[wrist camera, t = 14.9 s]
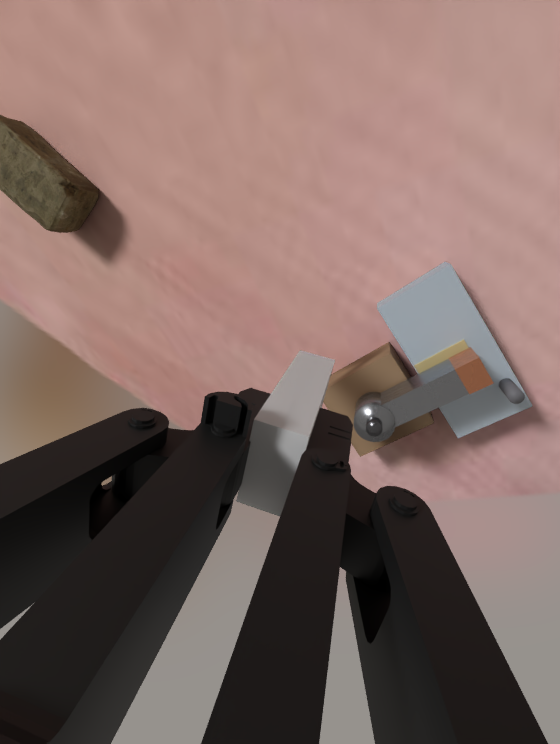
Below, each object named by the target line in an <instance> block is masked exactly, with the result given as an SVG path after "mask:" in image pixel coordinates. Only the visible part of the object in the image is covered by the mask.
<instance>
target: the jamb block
mask: <svg viewBox="0 0 560 744" xmlns="http://www.w3.org/2000/svg"><path fill="white" fill-rule="evenodd" d="M409 378H411V376H410V374H409V373H408V371H407V370H406V368H405V367H404V365H403V363H402V362H401V360H400V359H399V357H398V355H397V354H396V352H395V351H394V349H393V347H392V346H391V344H390V343H389V342H388V343H387V344H385V345H383V346H381V347H379V348H378V349H376V350H374V351H372V352H371V353H369V354H367V355H365V356H364V357H362V358H360V359H358V360H356V361H355V362H353V363H351V364H349V365H348V366H346V367H344V368H342V369H341V370H339V371H337V372H335V373H333V374H332V375H331V376H330V380H329V383H328V387H327V390H326V394H325V397H324V401H323V402H324V404H325V405H326V407H327V408H328V410H329V411H333V412H336V413H339V414H343V415H346V416H348V417H349V418H350V420H351V422H352V424H353V430H352V438H351V444H352V445H353V447H354V448H355V449H356V451H357V452H358V454H359V455H360V457H361V456H363V455H365V454H367V453H369V452H372V451H374V450H376V449H378V448H380V447H383V446H385V445H387V444H389V443H391V442H393V441H396V440H398V439H400V438H402V437H404V436H407V435H409V434H411V433H413V432H415V431H417V430H420V429H422V428H424V427H426V426H428V425H431V424H433V423H434V420H433V417H432V414H431V411H430V412H428V413H426V414H423V415H421V416H419V417H417V418H415V419H412V420H410V421H408V422H406V423H404V424H401V425H399V426H397V427H395V430H394V432H393V434H392V435H391V436H390V437H389V438H388V439H386V440H384V441H381V442H370V441H367V440H364V439H363V438H361V437H360V436H359V435H358V434H357V433H356V431H355V428H354V415H355V407H356V403H357V401H358V399H359V398H360V397H361V396H362V395H364V394H366V393H368V392H380V393H381V392H383V391H385V390H387V389H389V388H391V387H393V386H395V385H397V384H399V383H401V382H403V381H405V380H407V379H409Z"/></svg>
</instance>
